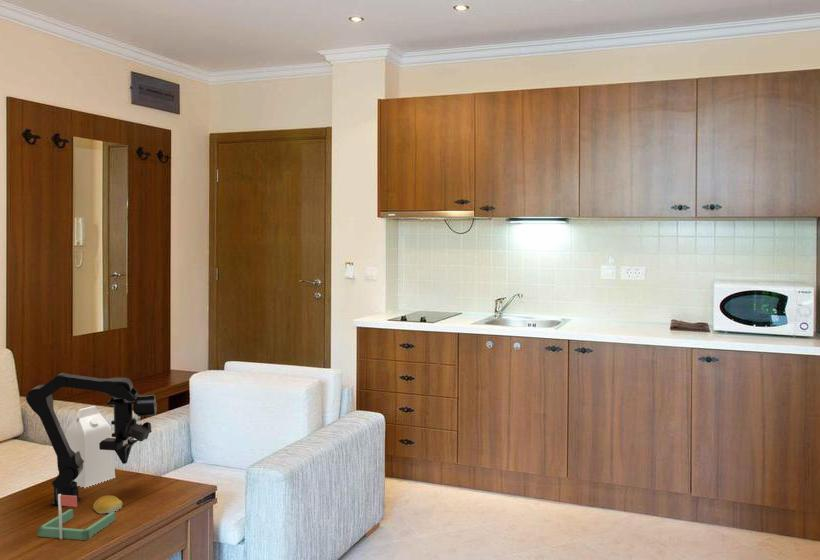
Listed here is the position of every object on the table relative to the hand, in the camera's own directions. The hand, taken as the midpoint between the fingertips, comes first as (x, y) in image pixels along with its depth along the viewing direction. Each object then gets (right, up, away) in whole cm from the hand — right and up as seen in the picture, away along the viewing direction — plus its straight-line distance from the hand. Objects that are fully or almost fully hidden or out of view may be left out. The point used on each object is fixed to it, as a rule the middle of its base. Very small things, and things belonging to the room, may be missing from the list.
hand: (124, 463), depth 234 cm
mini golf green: (-4, -13, -23) cm, 27 cm away
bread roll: (-2, -13, -9) cm, 15 cm away
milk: (-19, -11, +17) cm, 28 cm away
